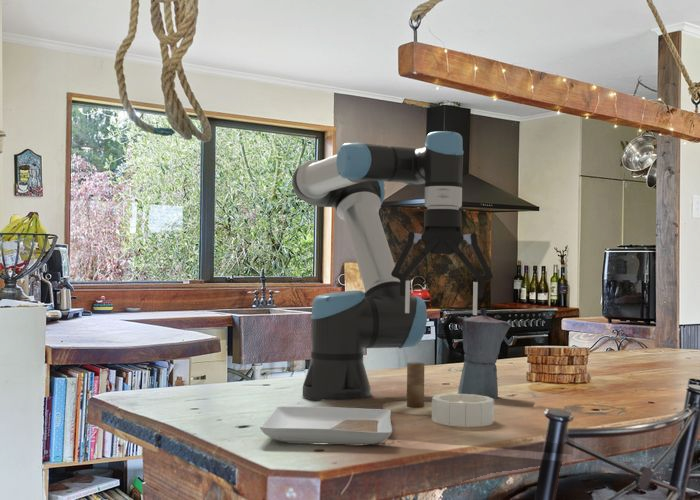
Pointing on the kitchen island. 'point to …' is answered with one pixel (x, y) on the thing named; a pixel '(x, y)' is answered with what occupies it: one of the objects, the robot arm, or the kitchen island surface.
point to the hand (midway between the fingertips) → (440, 313)
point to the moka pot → (478, 352)
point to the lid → (412, 393)
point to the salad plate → (325, 425)
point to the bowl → (463, 410)
